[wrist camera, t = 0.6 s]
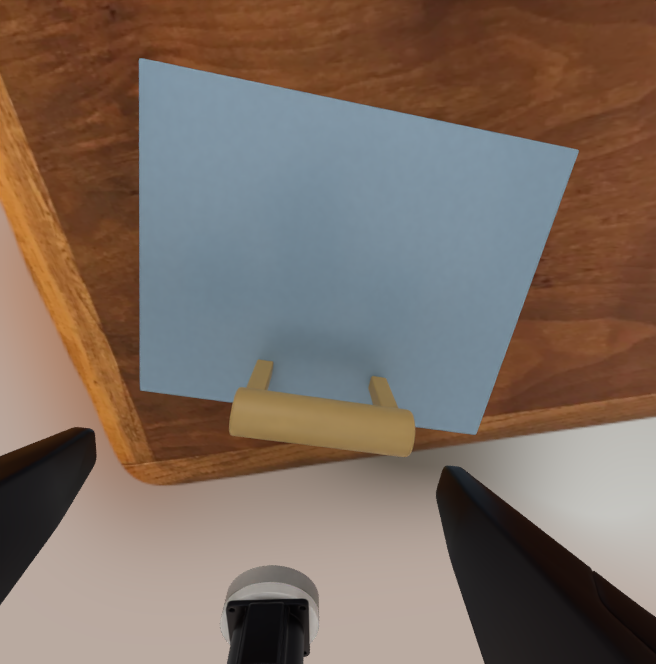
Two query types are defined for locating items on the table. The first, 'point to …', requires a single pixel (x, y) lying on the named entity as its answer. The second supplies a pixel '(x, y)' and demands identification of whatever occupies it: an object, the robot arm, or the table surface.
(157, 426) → the table surface
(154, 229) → the lid
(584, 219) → the table surface
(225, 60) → the table surface
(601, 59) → the table surface
